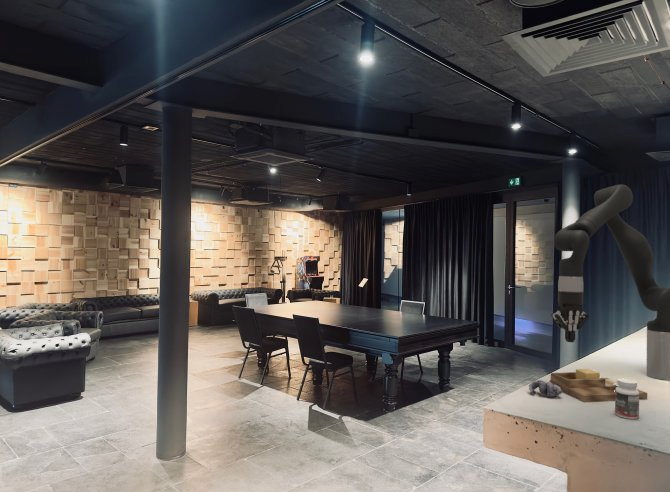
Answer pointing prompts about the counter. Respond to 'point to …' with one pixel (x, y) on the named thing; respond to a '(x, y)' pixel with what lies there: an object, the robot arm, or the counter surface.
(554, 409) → the counter surface
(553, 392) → the seashell
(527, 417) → the counter surface
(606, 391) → the wooden compartment tray
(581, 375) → the block
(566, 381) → the cubby
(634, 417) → the pill bottle
